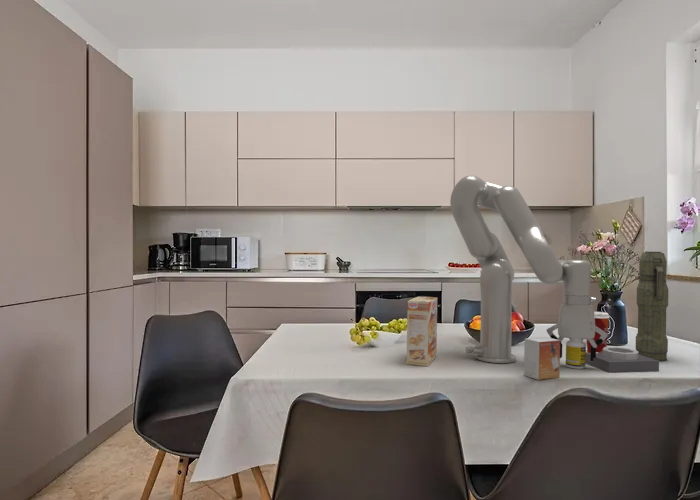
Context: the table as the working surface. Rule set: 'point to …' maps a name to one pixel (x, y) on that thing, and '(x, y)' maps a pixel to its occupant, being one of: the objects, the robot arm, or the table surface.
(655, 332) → the thermos
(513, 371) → the table surface
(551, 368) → the small box
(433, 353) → the coffeecake box
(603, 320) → the paper cup
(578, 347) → the supplement bottle
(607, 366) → the grey bottle holder base
